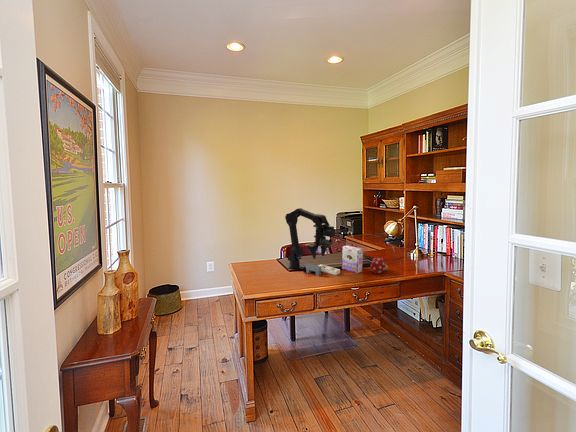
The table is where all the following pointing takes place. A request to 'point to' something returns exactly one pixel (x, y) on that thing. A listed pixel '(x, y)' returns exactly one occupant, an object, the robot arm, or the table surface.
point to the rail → (329, 270)
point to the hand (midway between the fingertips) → (318, 257)
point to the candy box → (352, 259)
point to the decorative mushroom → (378, 265)
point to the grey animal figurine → (313, 269)
